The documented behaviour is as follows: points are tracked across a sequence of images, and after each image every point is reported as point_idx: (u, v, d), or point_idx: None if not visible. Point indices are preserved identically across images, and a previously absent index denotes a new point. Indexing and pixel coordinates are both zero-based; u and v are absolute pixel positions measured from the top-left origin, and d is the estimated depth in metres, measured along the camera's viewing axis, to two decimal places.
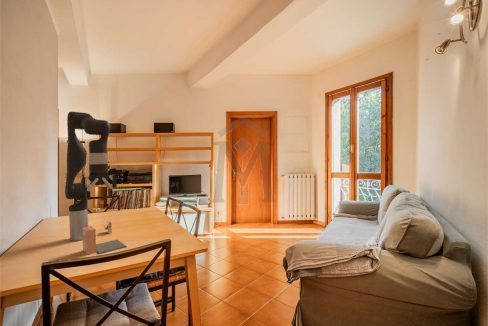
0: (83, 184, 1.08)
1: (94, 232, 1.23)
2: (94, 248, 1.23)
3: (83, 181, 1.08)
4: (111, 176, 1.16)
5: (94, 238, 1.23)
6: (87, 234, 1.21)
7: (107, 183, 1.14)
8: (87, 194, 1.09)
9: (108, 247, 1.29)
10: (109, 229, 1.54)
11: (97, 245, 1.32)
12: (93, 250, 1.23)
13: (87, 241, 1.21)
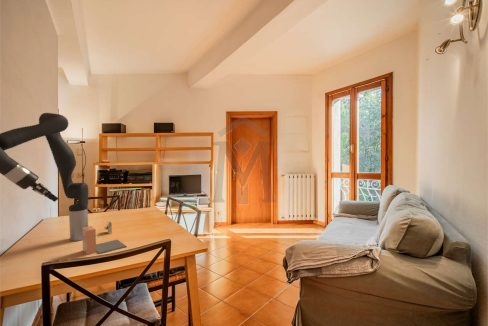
0: None
1: (94, 232, 1.23)
2: (94, 248, 1.23)
3: None
4: None
5: (94, 238, 1.23)
6: (87, 234, 1.21)
7: (39, 193, 1.10)
8: None
9: (108, 247, 1.29)
10: (109, 229, 1.54)
11: (97, 245, 1.32)
12: (93, 250, 1.23)
13: (87, 241, 1.21)
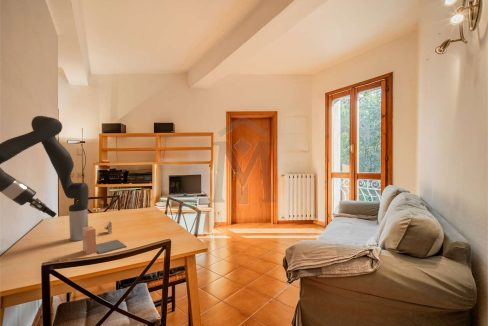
0: None
1: (94, 232, 1.23)
2: (94, 248, 1.23)
3: None
4: (36, 205, 1.08)
5: (94, 238, 1.23)
6: (87, 234, 1.21)
7: (37, 209, 1.11)
8: None
9: (108, 247, 1.29)
10: (109, 229, 1.54)
11: (97, 245, 1.32)
12: (93, 250, 1.23)
13: (87, 241, 1.21)
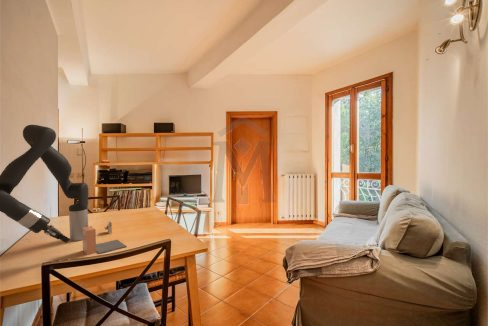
0: None
1: (94, 232, 1.23)
2: (94, 248, 1.23)
3: None
4: (50, 233, 1.11)
5: (94, 238, 1.23)
6: (87, 234, 1.21)
7: None
8: None
9: (108, 247, 1.29)
10: (109, 229, 1.54)
11: (97, 245, 1.32)
12: (93, 250, 1.23)
13: (87, 241, 1.21)
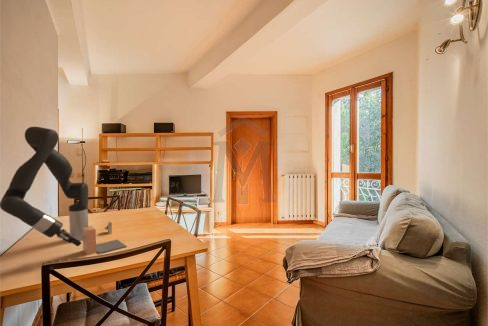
0: None
1: (94, 232, 1.23)
2: (94, 248, 1.23)
3: None
4: (63, 237, 1.14)
5: (94, 238, 1.23)
6: (87, 234, 1.21)
7: None
8: None
9: (108, 247, 1.29)
10: (109, 229, 1.54)
11: (97, 245, 1.32)
12: (93, 250, 1.23)
13: (87, 241, 1.21)
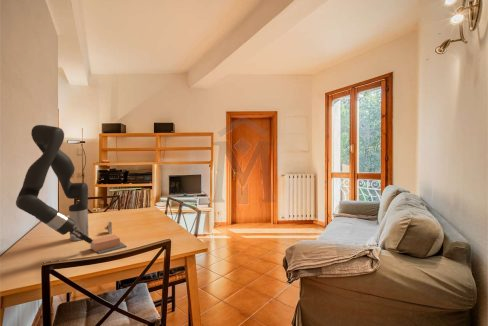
0: None
1: (116, 245, 1.31)
2: (99, 249, 1.25)
3: None
4: (76, 234, 1.17)
5: (110, 246, 1.29)
6: (115, 239, 1.31)
7: (76, 237, 1.21)
8: None
9: None
10: (109, 229, 1.54)
11: None
12: (97, 248, 1.24)
13: (108, 241, 1.28)
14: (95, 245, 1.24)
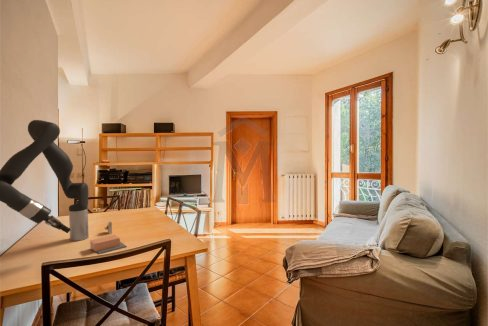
0: None
1: (116, 245, 1.31)
2: (99, 249, 1.25)
3: None
4: (51, 223, 1.12)
5: (110, 246, 1.29)
6: (115, 239, 1.31)
7: None
8: None
9: None
10: (109, 229, 1.54)
11: None
12: (97, 248, 1.24)
13: (108, 241, 1.28)
14: (95, 245, 1.24)
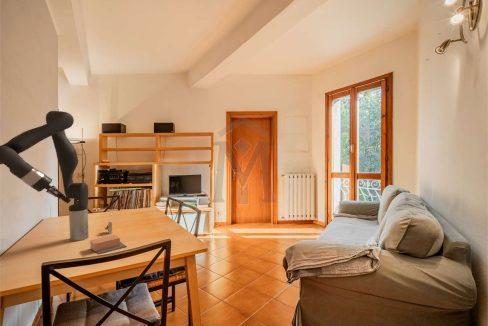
0: None
1: (116, 245, 1.31)
2: (99, 249, 1.25)
3: None
4: (52, 191, 1.16)
5: (110, 246, 1.29)
6: (115, 239, 1.31)
7: (53, 195, 1.19)
8: None
9: None
10: (109, 229, 1.54)
11: None
12: (97, 248, 1.24)
13: (108, 241, 1.28)
14: (95, 245, 1.24)
